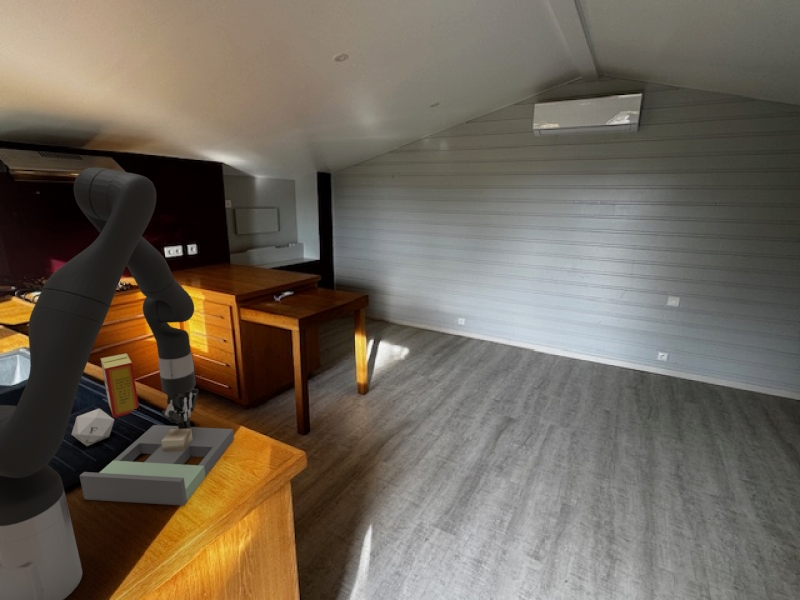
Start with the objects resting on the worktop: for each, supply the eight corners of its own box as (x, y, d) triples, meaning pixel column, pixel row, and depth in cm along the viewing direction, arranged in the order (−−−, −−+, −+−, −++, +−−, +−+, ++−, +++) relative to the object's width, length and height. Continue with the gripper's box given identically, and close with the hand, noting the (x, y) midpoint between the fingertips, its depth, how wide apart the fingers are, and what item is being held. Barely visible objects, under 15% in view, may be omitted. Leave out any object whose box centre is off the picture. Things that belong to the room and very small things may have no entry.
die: (66, 450, 104) (70, 431, 99) (77, 420, 109) (81, 401, 104) (104, 452, 108) (110, 434, 103) (113, 422, 114) (118, 404, 109)
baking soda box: (139, 410, 121) (131, 361, 117) (113, 418, 117) (104, 367, 113) (133, 398, 128) (126, 351, 124) (108, 405, 124) (100, 357, 120)
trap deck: (183, 505, 86) (180, 481, 84) (84, 499, 87) (79, 475, 85) (234, 438, 109) (232, 419, 107) (155, 434, 110) (152, 415, 108)
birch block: (184, 450, 99) (182, 440, 98) (162, 451, 98) (161, 440, 98) (192, 438, 104) (191, 428, 103) (172, 439, 103) (170, 429, 102)
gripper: (176, 383, 94) (184, 448, 99) (205, 360, 107) (211, 418, 111) (145, 382, 94) (155, 446, 99) (177, 359, 107) (185, 416, 112)
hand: (185, 431), depth 105 cm, fingers closed
